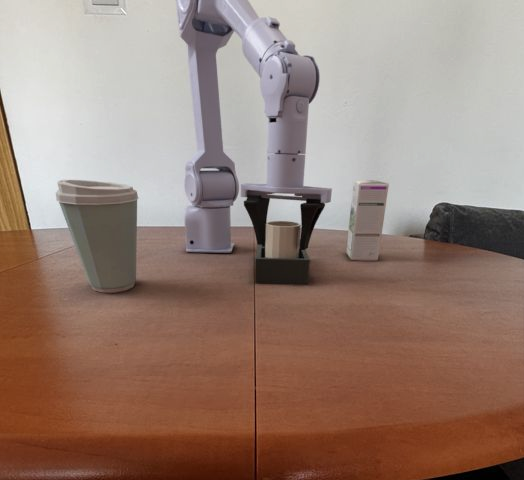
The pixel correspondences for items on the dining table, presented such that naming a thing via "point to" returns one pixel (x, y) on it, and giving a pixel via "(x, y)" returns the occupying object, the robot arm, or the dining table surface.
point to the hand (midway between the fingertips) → (282, 246)
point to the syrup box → (366, 219)
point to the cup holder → (281, 268)
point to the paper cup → (282, 239)
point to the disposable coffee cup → (102, 230)
